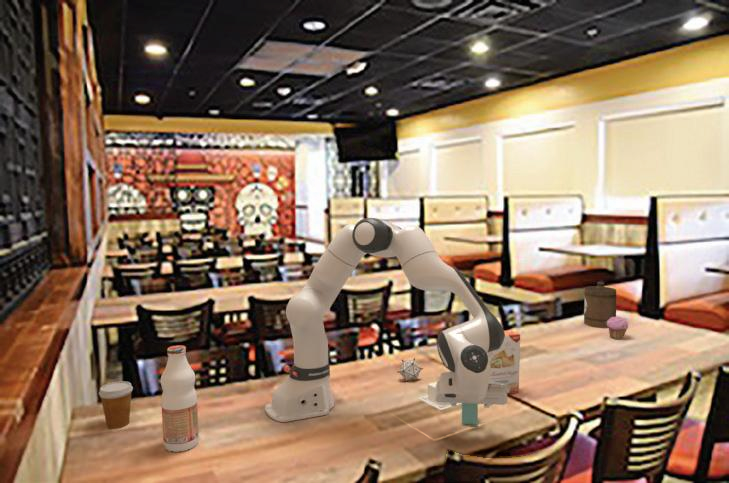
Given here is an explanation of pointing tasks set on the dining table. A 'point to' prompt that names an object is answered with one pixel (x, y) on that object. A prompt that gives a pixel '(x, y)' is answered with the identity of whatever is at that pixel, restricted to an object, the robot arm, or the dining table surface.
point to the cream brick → (433, 393)
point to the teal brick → (470, 414)
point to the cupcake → (617, 327)
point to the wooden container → (599, 305)
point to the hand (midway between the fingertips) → (470, 404)
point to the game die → (410, 370)
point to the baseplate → (440, 407)
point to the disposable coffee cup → (116, 403)
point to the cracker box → (506, 362)
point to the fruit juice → (179, 402)
